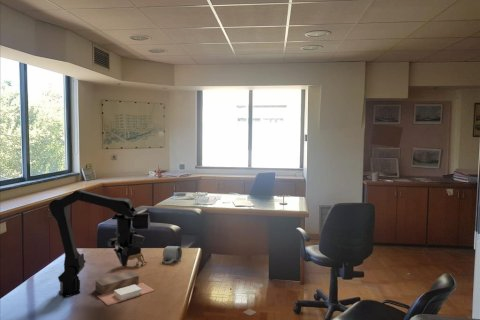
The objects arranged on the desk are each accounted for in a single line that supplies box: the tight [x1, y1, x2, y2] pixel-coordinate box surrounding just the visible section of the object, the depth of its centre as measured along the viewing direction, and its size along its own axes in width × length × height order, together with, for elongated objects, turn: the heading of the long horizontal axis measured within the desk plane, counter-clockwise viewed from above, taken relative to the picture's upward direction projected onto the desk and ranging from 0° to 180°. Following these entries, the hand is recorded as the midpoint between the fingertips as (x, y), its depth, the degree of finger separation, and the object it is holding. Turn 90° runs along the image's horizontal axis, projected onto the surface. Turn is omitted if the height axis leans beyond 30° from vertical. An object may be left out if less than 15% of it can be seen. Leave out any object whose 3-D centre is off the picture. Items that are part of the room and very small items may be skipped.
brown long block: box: [94, 270, 140, 295], centre depth 147 cm, size 16×7×4 cm, turn 134°
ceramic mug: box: [162, 245, 183, 265], centre depth 181 cm, size 11×8×8 cm
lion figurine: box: [124, 252, 148, 268], centre depth 174 cm, size 15×5×9 cm, turn 111°
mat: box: [97, 282, 155, 306], centre depth 141 cm, size 20×10×1 cm, turn 134°
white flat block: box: [114, 284, 142, 300], centre depth 140 cm, size 9×6×2 cm, turn 134°
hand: (123, 266), depth 143 cm, fingers closed
